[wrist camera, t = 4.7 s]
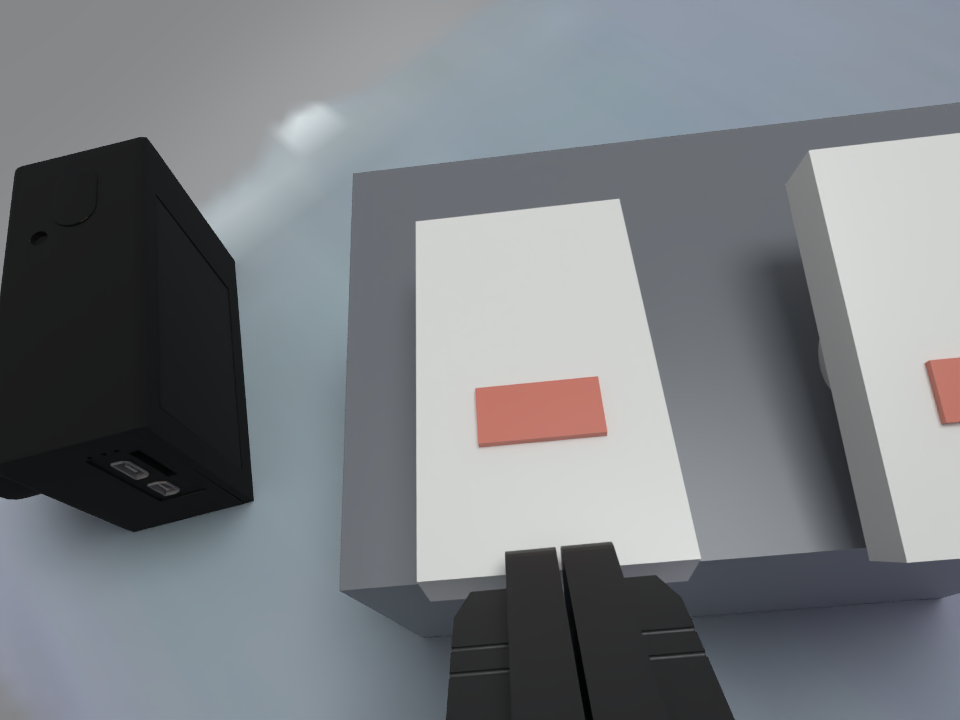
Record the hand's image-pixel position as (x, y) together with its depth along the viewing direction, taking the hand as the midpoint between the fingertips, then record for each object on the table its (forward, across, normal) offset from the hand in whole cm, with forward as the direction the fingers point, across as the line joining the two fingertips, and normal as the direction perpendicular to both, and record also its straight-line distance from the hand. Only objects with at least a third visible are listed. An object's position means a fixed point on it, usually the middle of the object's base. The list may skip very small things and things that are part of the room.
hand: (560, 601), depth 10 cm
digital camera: (+16, +13, +1) cm, 20 cm away
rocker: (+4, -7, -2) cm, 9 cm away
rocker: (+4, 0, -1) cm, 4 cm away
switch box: (+12, -4, +4) cm, 13 cm away
